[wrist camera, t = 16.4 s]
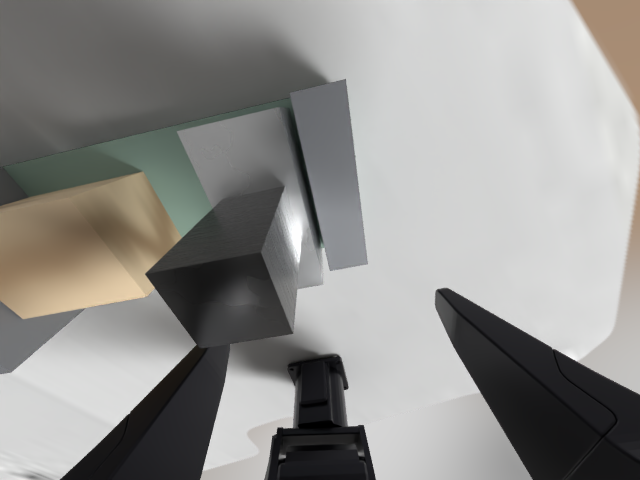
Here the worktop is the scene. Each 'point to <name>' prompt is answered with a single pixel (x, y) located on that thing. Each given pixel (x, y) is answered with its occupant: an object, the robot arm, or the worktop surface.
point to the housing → (82, 246)
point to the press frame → (198, 189)
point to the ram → (243, 233)
